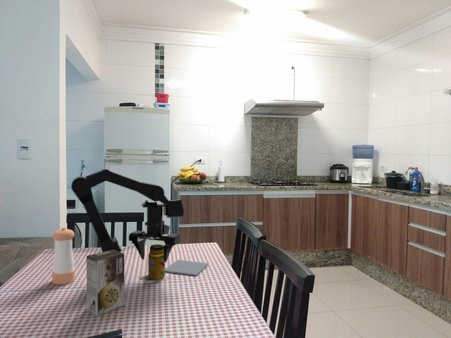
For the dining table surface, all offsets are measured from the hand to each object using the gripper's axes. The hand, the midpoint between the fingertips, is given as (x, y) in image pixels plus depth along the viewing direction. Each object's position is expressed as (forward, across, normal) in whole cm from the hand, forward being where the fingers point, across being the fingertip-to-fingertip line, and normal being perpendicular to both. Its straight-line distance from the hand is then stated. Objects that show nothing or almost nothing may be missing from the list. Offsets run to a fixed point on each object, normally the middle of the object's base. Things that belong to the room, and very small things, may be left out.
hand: (154, 260), depth 124 cm
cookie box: (+7, +2, +26) cm, 27 cm away
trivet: (+6, -7, -14) cm, 17 cm away
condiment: (+7, 0, 0) cm, 7 cm away
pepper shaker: (+7, +29, +13) cm, 32 cm away
